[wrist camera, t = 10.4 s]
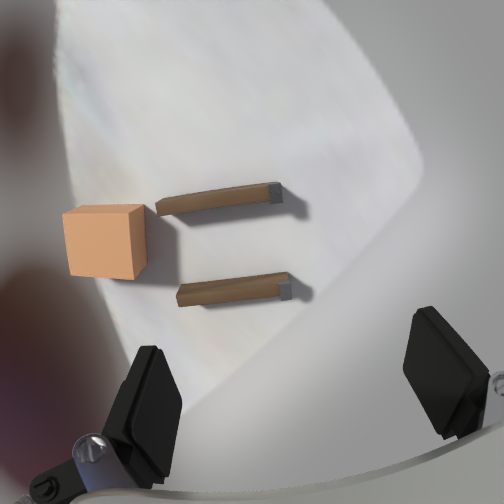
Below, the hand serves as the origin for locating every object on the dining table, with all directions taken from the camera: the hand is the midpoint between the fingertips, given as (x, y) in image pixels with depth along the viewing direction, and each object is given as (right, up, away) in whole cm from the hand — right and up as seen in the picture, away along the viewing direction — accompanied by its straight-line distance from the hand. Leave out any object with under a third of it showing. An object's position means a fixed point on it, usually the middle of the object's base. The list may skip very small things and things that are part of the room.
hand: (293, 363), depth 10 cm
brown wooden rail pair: (-4, +5, +18) cm, 19 cm away
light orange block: (-15, +6, +18) cm, 24 cm away
